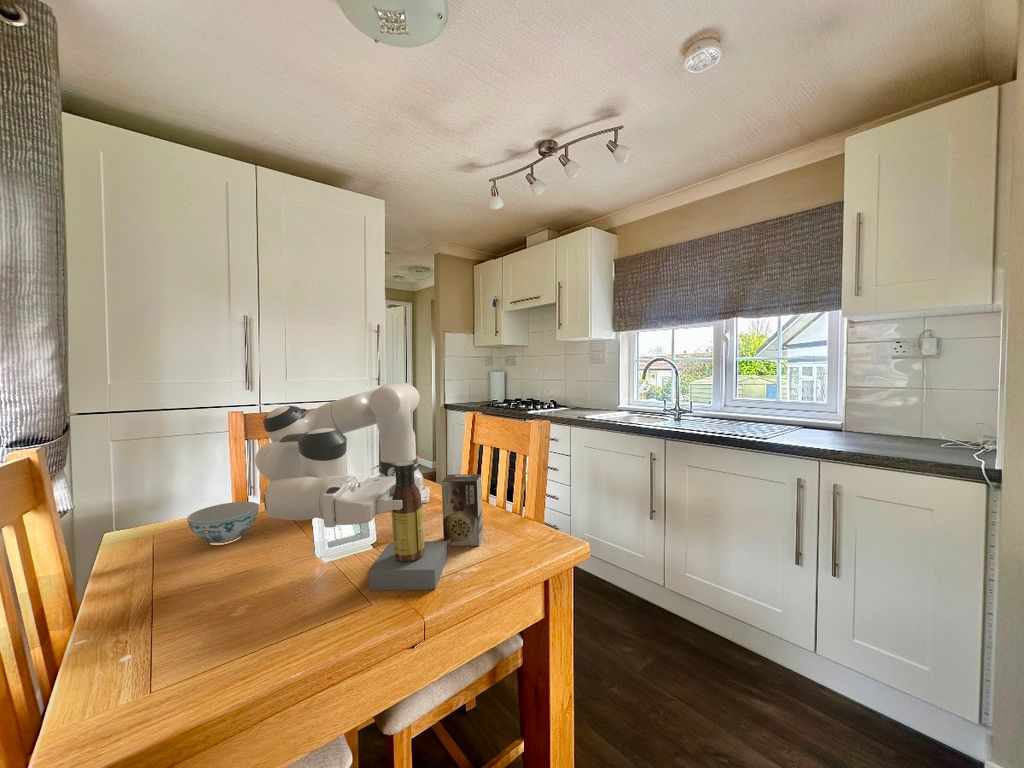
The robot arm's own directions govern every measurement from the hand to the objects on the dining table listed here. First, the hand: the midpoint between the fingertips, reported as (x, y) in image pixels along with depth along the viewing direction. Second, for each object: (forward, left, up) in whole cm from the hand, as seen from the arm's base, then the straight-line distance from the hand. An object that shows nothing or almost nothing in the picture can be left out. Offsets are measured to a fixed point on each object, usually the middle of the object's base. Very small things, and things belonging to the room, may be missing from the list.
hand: (409, 496), depth 84 cm
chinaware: (-18, -53, -17) cm, 59 cm away
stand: (0, 0, -16) cm, 17 cm away
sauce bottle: (+1, 0, -13) cm, 13 cm away
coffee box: (-16, +9, -17) cm, 25 cm away
